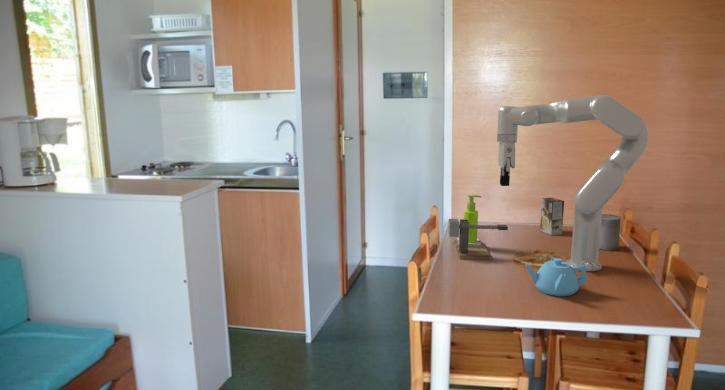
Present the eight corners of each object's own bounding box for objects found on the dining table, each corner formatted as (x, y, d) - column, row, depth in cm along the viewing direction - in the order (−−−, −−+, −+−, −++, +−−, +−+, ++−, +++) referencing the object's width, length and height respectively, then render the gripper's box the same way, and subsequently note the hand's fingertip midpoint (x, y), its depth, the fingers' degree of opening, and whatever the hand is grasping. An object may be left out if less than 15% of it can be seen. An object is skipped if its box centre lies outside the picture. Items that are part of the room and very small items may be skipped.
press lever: (507, 237, 212) (508, 223, 211) (449, 236, 213) (450, 222, 212) (504, 234, 218) (505, 219, 217) (448, 233, 219) (448, 218, 218)
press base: (490, 259, 212) (492, 224, 209) (459, 259, 213) (461, 223, 210) (480, 243, 236) (482, 210, 233) (453, 242, 236) (454, 210, 234)
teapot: (560, 302, 169) (563, 269, 167) (522, 288, 182) (524, 257, 179) (589, 292, 178) (592, 261, 176) (551, 279, 190) (553, 250, 188)
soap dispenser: (480, 243, 227) (482, 196, 223) (464, 243, 227) (465, 196, 223) (477, 239, 232) (479, 193, 229) (461, 239, 232) (463, 193, 229)
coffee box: (562, 234, 251) (565, 200, 248) (551, 235, 249) (553, 201, 246) (550, 229, 259) (552, 197, 256) (539, 230, 258) (541, 197, 255)
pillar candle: (613, 244, 234) (616, 211, 231) (621, 251, 224) (624, 216, 222) (590, 244, 235) (592, 210, 232) (597, 250, 225) (600, 215, 223)
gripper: (521, 140, 200) (518, 188, 204) (512, 137, 215) (510, 182, 219) (501, 140, 201) (498, 188, 204) (493, 136, 216) (491, 182, 219)
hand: (504, 185), depth 211 cm, fingers closed
